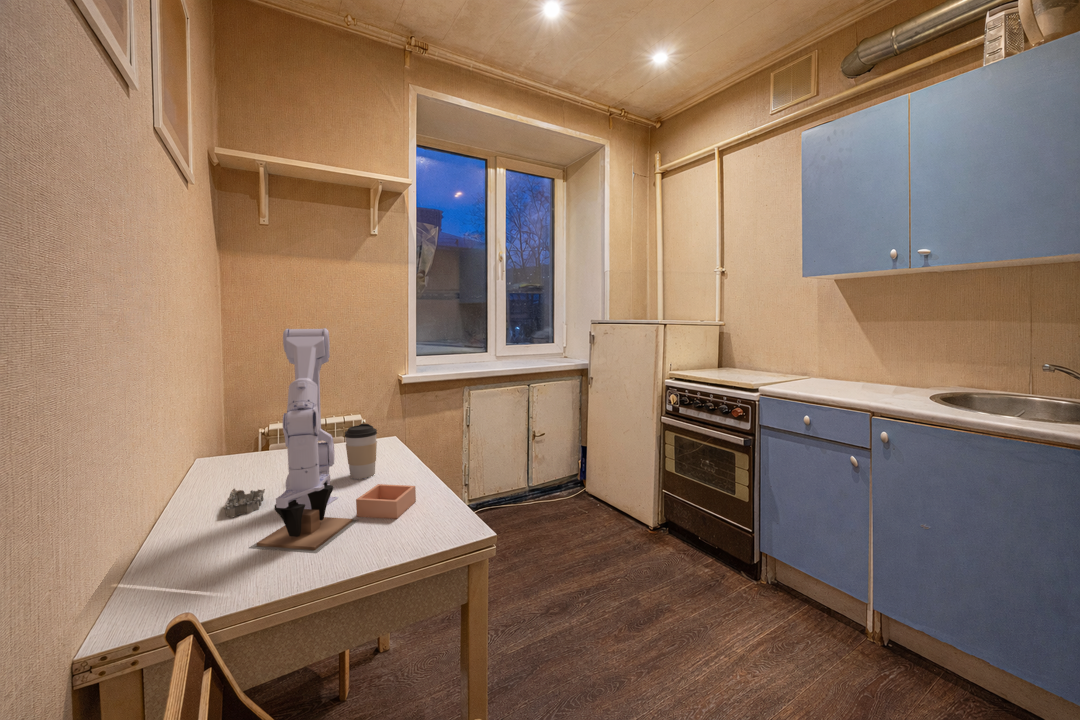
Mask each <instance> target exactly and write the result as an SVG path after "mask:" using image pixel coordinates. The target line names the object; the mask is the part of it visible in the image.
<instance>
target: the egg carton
mask: <svg viewBox="0 0 1080 720" xmlns="http://www.w3.org/2000/svg"><path fill="white" fill-rule="evenodd" d="M265 490H266V488H263V489H257V490H253V489H252V490H250V491H249V493H245V491H244V490H243V489H238V490H236V488H235V487H234V488H233V489H232V490H231V491H230V493H229V497H227V500H226V501H225V502H224V505H223V506H224V507H223V510H224V511H225V517H230V518H234V517H233V516H235V517H237V516H239V515H243V514H244V513H245V514H251V513H253V512H255V511H259V510H260V507H261V506H262V502H264V500H265V499H264V494H265ZM238 514H239V515H238ZM227 515H228V516H227ZM236 515H237V516H236Z"/></svg>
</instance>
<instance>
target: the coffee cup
mask: <svg viewBox="0 0 1080 720" xmlns="http://www.w3.org/2000/svg"><path fill="white" fill-rule="evenodd" d="M377 431H378V429H377V428H374V426H373V425H371V424H369V423H361V424H358V425H352V426H350V427H348V429H347V430H346V431H345V432H344V437H345V448H346V449H345V451H346V456H347V458H346V459H347V463H348V468H349V469H348V470H349V476H350V479H352V478H354V479H353V480H363V479H362V478H365V479H368V478H367V477H370V478H372V477H374V476H375V475H376V461H377V445H378V441H377V434H378V432H377ZM374 474H375V475H374ZM373 475H374V476H373ZM371 476H372V477H371Z"/></svg>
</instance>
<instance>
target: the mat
mask: <svg viewBox="0 0 1080 720" xmlns="http://www.w3.org/2000/svg"><path fill="white" fill-rule="evenodd" d="M352 519H353V521H352V522H351V523H350V524H349V525H347V526H346V527H345V528H343V529H342V530H341V531H339V532H338V533H337V534H336V535H334V536H333V537H332V538H330V539H329V540H328V541H326V542H325V543H324V544H323V545H321V546H320V547H319V548H317V549H316V550H307V549H294V548H280V547H266V546H257V542H256V543H254V544H252V545H251V546H249V547H248V549H253V550H254V549H255V550H266V551H267V550H270V551H282V552H284V551H285V552H296V553H309V554H317V553H319V552H321V551H322V550H323V549H324V548H326V546H328V545H329V544H330V543H332V542H334V540H336V539H337V538H338V537H339V536H341V535H342V534H343V533H344V532H346V531H347V530H349V529H350V528H351V527H352V526H353V525H354V524H355V525H356V523H357V522H358V521H359V519H355V518H352ZM277 530H278V529H276V530H275V531H277ZM269 535H270V534H268V535H267V536H269Z"/></svg>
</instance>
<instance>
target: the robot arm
mask: <svg viewBox="0 0 1080 720" xmlns="http://www.w3.org/2000/svg"><path fill="white" fill-rule="evenodd" d="M330 344H331V343H330V331H329V330H328V329H327V328H326V327H324V328H285V329H284V330H283V333H282V345H283V351H284V353H285V357H286V359H287V360H288V363H289V364H292V365H294V380H293V381H292V382H291V383H290V384H289V385H288V394H287V405H286V406H287V407H286V412H284V413H283V416H282V432H283V435H284V443H285V447H287V449H286V450H287V465H288V468H287V469H288V474H287V477H286V479H285V491H283V493H281V495H279V496H278V497H276V498H275V504H274V511H275V512H276V513H277V514H278V516H279V517H280V518H281V520H282V521H283V523H284V526H286V528H287V531H288V534H289V536H292V537H298V536H300V534H301V520H302V514H303V510H304V509H313V510H319V518H320V520H321V521H322V520H323V519H324V517H325V516H326V515H325V514H326V509H327V506H329V505H330V504H332V503H333V502H335V501H337V500H338V499H339V497H338V496H331V494H332V492H333V490H334V485H332V484H331V474H330V467H333V465H335V460H336V458H335V444H334V437H333V435H332V434H331V433H329V432H327V431H326V430H324V429H322V420H321V419H322V418H321V415H322V414H321V411H322V410H321V381H320V380H321V379H320V378H321V377H320V373H321V368H322V367H323V366H322V365H324V364H327V363H328V362H329V360H330V358H331V357H330V356H331V355H330V353H331V352H330V350H331V347H330ZM321 441H323V443H318V442H321Z"/></svg>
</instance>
